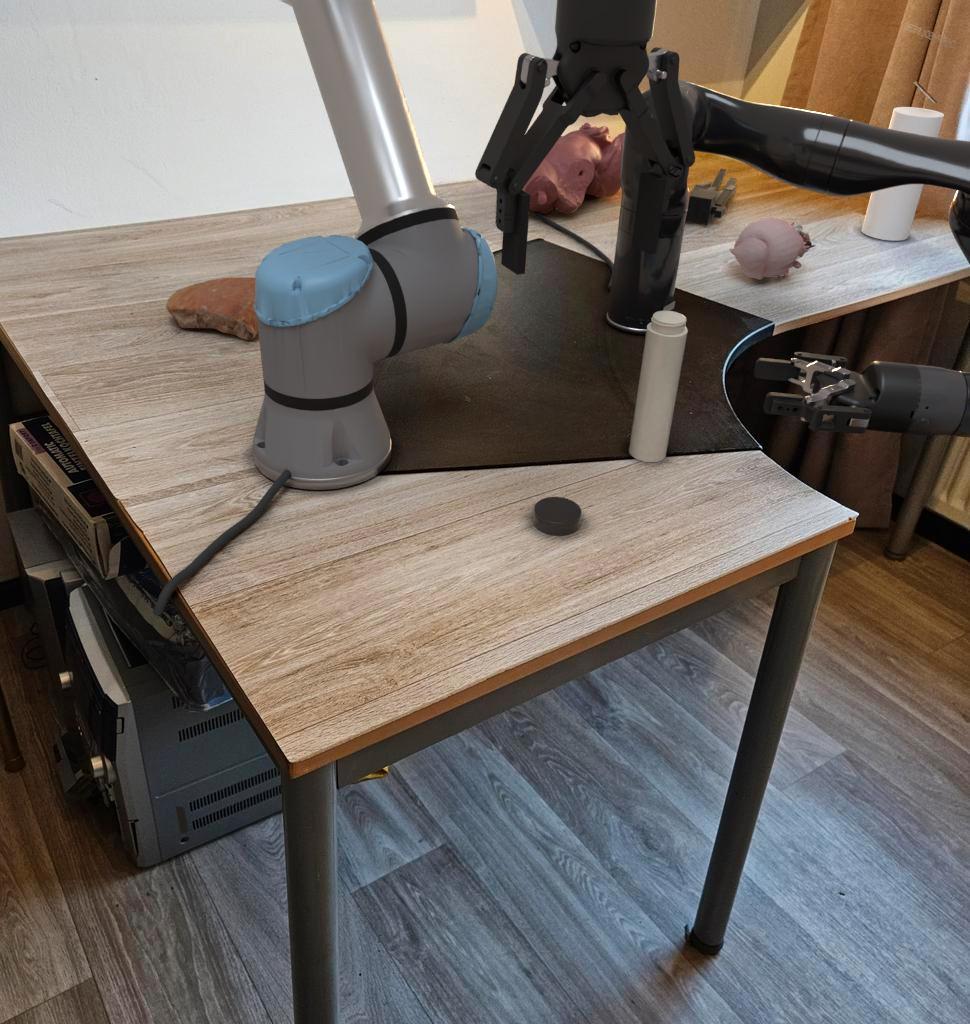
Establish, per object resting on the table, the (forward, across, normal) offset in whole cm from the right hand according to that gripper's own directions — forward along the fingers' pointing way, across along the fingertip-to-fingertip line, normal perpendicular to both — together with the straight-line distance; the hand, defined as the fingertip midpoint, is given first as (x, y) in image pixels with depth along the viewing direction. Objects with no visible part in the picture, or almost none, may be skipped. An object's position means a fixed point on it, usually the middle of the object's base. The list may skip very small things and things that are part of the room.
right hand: (760, 384), depth 106 cm
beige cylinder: (+11, 0, +10) cm, 15 cm away
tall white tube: (-37, -92, +10) cm, 100 cm away
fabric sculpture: (+22, -96, +10) cm, 99 cm away
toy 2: (-11, -64, +10) cm, 65 cm away
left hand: (+21, +16, -18) cm, 32 cm away
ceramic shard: (+70, -28, +11) cm, 76 cm away
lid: (+21, +16, +9) cm, 28 cm away
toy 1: (-5, -103, +10) cm, 103 cm away
